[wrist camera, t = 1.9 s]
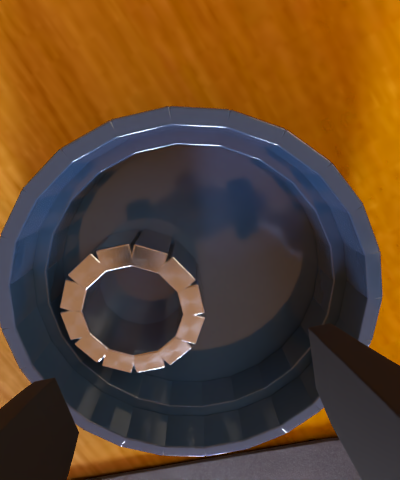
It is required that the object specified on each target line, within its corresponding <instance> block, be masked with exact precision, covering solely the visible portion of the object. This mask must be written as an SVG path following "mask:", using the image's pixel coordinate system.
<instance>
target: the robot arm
mask: <svg viewBox="0 0 400 480" xmlns="http://www.w3.org/2000/svg"><path fill="white" fill-rule="evenodd" d="M308 331H309V339H310V346H311V354H312V362H313V370H314V377H315V385H316V389H317V392H318V394H319V396H320V399H321V401H322V404H323V406H324V408H325V411H326V413H327V415H328V418H329V420H330V422H331V424H332V427H333V428H334V430H335V432H336V434H337V436H338V438H339V439H340V441H341V443H342V445H343V447H344V449H345V450H346V452H347V454H348V456H349V458H350V459H351V461H352V463H353V465H354V467H355V468H356V470H357V472H358V474H359V476H360V477H361V479H362V480H400V366H399V365H397V364H396V363H394V362H392V361H391V360H389V359H387V358H386V357H384V356H382V355H381V354H379V353H377V352H376V351H374V350H372V349H371V348H369V347H368V346H366V345H364V344H363V343H361V342H360V341H358V340H357V339H355V338H353V337H352V336H350V335H349V334H347V333H345V332H344V331H342V330H341V329H339V328H338V327H336V326H334V325H333V324H331V323H329V324H324V325H319V326H314V327H309V328H308ZM78 434H79V432H78V429H77V427H76V425H75V422H74V420H73V418H72V415H71V413H70V411H69V408H68V406H67V404H66V401H65V399H64V397H63V395H62V392H61V390H60V388H59V385H58V383H57V381H56V378H50V379H45V380H40V381H35V382H33V383H32V384H31V385H29V386H28V387H26V388H25V389H24V390H23V391H21V392H20V393H19V394H18V395H16V396H15V397H14V398H13V399H11V400H10V401H9V402H8V403H7V404H5V405H4V406H3V407H2V408H1V409H0V480H66V479H67V476H68V473H69V470H70V466H71V462H72V459H73V455H74V451H75V447H76V442H77V438H78Z"/></svg>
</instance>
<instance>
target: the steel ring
mask: <svg viewBox="0 0 400 480" xmlns="http://www.w3.org/2000/svg"><path fill="white" fill-rule="evenodd" d="M171 241H172V237H171V236H168V235H165V234H162V233H158V232H155V231H152V230H148V229H144V230H143V232H142V233H141V231H140V229H134V230H129V231H124V232H120V233H115V234H112V235H111V236H110V237H106V238H105V239H104V240H103V241H102V242H101V243H100V244H99V245H98V246H97V247H96V248H95V249H93V250H92V251H91V252H90V253H89V254H88V255H87V256H86V257H85V258H84V259H83V260H82V261H81V262H80V263H79V264H78V265H77V266H76V267H75V268H74V269H73V270H72V271H71V272H70V273H69V274H68V277H67V278H66V279H65V282H64V287H63V292H62V297H61V301H60V306H59V307H60V308H61V309H63V310H62V311H61V312H60V315H61V318H62V320H63V323H64V325H65V328H66V330H67V333H68V336H69V338H70V340H74V339H76V341H75V343H74V345H75V346H76V347H78V348H79V349H80V350H81V351H82V352H84V353H85V354H86V355H87V356H88V357H90V358H91V359H92V360H93V361H95V362H96V363H98V362H99V361H100V360H101V359H103V361H102V366H104V367H108V368H112V369H116V370H120V371H124V372H128V373H131V372H132V370H133V367H135V370H136V372H137V373H140V372H145V371H150V370H156V369H161V368H165V367H166V362H167V363H168V364H169V365H172V364H173V363H174V362H175V361H177V360H178V359H179V358H180V357H182V356H183V355H184V354H185V353H187V352H188V351H189V350H190V349H192V344H196V342H197V339H198V336H199V334H200V331H201V328H202V325H203V323H204V320H205V299H204V286H203V282H202V277H201V273H200V269H199V265H198V263H196V259H195V258H194V257H193V256H192V255H191V253H190V252H189V251H188V250H187V249H186V248H185V247H184V246H183V245H182V244H181V243H180V242H179V241H178V240H175V241H174V242H173V243H171ZM130 266H133V267H137V268H140V269H144V270H147V271H151V272H154V273H158V274H159V275H160V276H161V277H162V278H163V279H164V280H165V281H166V282H167V283H168V284H169V285H170V286H171V287H173V288H174V289H175V290H176V291H177V294H178V298H179V302H180V305H179V308H178V309H177V310H176V311H174V312H173V313H172V314H171V315H170V316H168V317H167V318H166V319H165V320H164V321H160V322H155V323H150V324H145V325H142V324H138V323H134V322H130V321H127V320H123V319H121V318H120V317H119V316H118V315H117V314H115V313H114V312H113V311H112V310H111V309H110V308H109V307H108V306H106V303H105V300H104V297H103V294H102V291H101V288H100V284H101V280H102V276H103V274H104V273H105V272H106V271H111V270H115V269H120V268H125V267H130Z"/></svg>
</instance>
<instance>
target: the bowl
mask: <svg viewBox="0 0 400 480" xmlns="http://www.w3.org/2000/svg"><path fill="white" fill-rule="evenodd" d="M134 229H140V231H141V233H142V232H143V230H144V229H148V230H152V231H155V232H158V233H162V234H165V235H168V236H171V237H172V241H171V243H173V242H174V241H175V240H178V241H179V242H180V243H181V244H182V245H183V246H184V247H185V248H186V249H187V250H188V251H189V252H190V253H191V255H192V256H193V257H194V258H195V259H196V263H198V265H199V269H200V273H201V277H202V282H203V286H204V299H205V320H204V323H203V325H202V328H201V331H200V334H199V336H198V339H197V342H196V344H192V349H190V350H189V351H188V352H187V353H185V354H184V355H183V356H182V357H180V358H179V359H178V360H177V361H175V362H174V363H173V364H172V365H169V364H168V363H167V362H166V367H165V368H161V369H156V370H150V371H145V372H140V373H137V372H136V370H135V367H133V370H132V372H131V373H128V372H124V371H120V370H116V369H112V368H108V367H104V366H102V361H103V359H101V360H100V361H99V362H98V363H96V362H95V361H93V360H92V359H91V358H90V357H88V356H87V355H86V354H85V353H84V352H82V351H81V350H80V349H79V348H78V347H76V346H75V345H74V343H75V341H76V339H74V340H70V338H69V336H68V333H67V330H66V328H65V325H64V323H63V320H62V318H61V315H60V312H61V311H62V310H63V309H61V308H60V307H59V306H60V301H61V297H62V292H63V287H64V282H65V279H66V278H67V277H68V274H69V273H70V272H71V271H72V270H73V269H74V268H75V267H76V266H77V265H78V264H79V263H80V262H81V261H82V260H83V259H84V258H85V257H86V256H87V255H88V254H89V253H90V252H91V251H92V250H93V249H95V248H96V247H97V246H98V245H99V244H100V243H101V242H102V241H103V240H104V239H105V238H106V237H110V236H111V235H112V234H115V233H120V232H124V231H129V230H134ZM100 288H101V291H102V294H103V297H104V300H105V303H106V306H108V307H109V308H110V309H111V310H112V311H113V312H114V313H115V314H117V315H118V316H119V317H120V318H121V319H123V320H127V321H130V322H134V323H138V324H142V325H145V324H150V323H155V322H160V321H164V320H165V319H166V318H167V317H168V316H170V315H171V314H172V313H173V312H174V311H176V310H177V309H178V308H179V305H180V302H179V298H178V294H177V291H176V290H175V289H174V288H173V287H171V286H170V285H169V284H168V283H167V282H166V281H165V280H164V279H163V278H162V277H161V276H160V275H159V274H158V273H154V272H151V271H147V270H144V269H140V268H137V267H133V266H130V267H125V268H120V269H115V270H111V271H106V272H105V273H104V274H103V276H102V280H101V284H100ZM381 301H382V278H381V256H380V251H379V247H378V244H377V241H376V239H375V236H374V233H373V230H372V227H371V225H370V222H369V219H368V216H367V214H366V211H365V208H364V206H363V203H362V202H361V200H360V199H359V198H358V196H357V195H356V194H355V192H354V191H353V190H352V188H351V187H350V186H349V184H348V183H347V182H346V180H345V179H344V178H343V176H342V175H341V174H340V172H339V171H338V170H337V168H336V167H335V166H334V164H333V163H331V161H330V160H328V159H327V158H325V157H324V156H323V155H321V154H320V153H319V152H317V151H316V150H314V149H313V148H312V147H310V146H309V145H308V144H306V143H305V142H303V141H302V140H301V139H299V138H298V137H297V136H295V135H294V134H292V133H291V132H290V131H288V130H285V129H284V128H282V127H279V126H276V125H274V124H271V123H268V122H265V121H262V120H259V119H257V118H254V117H251V116H248V115H245V114H242V113H240V112H237V111H234V110H229V109H218V108H200V107H182V106H170V107H169V106H166V107H162V108H158V109H153V110H149V111H145V112H141V113H136V114H132V115H128V116H124V117H119V118H115V119H112V120H111V121H107V122H106V123H104V124H102V125H100V126H99V127H97V128H95V129H93V130H92V131H90V132H88V133H86V134H85V135H83V136H81V137H79V138H78V139H76V140H74V141H72V142H71V143H69V144H67V145H65V146H64V147H62V148H61V149H59V150H58V151H57V152H56V153H55V154H54V155H53V156H52V158H51V159H50V160H49V161H48V162H47V163H46V164H45V165H44V166H43V167H42V168H41V169H40V170H39V171H38V173H37V174H36V175H35V176H34V177H33V178H32V179H31V180H30V181H29V182H28V183H27V184H26V185H25V186H24V188H23V189H22V191H21V193H20V195H19V197H18V199H17V201H16V203H15V206H14V208H13V210H12V212H11V214H10V216H9V218H8V220H7V222H6V224H5V227H4V229H3V231H2V233H1V236H0V326H1V328H2V332H3V334H4V336H5V338H6V340H7V342H8V345H9V347H10V349H11V351H12V353H13V355H14V358H15V360H16V362H17V364H18V366H19V368H20V369H21V371H22V372H23V373H24V375H25V376H26V377H27V378H28V380H29V381H30V382H31V383H33V382H35V381H40V380H45V379H50V378H56V381H57V383H58V385H59V388H60V390H61V392H62V395H63V397H64V399H65V401H66V404H67V406H68V408H69V411H70V413H71V415H72V418H73V420H74V422H75V424H76V425H78V426H79V427H81V428H83V430H86V431H88V432H90V433H92V434H94V435H97V436H99V437H101V438H103V439H105V440H108V441H110V442H112V443H114V444H116V445H119V446H122V447H126V448H130V449H135V450H139V451H144V452H148V453H153V454H157V455H164V456H196V457H204V456H212V455H218V454H223V453H229V452H234V451H240V450H246V448H247V449H249V448H251V447H254V446H256V445H259V444H261V443H264V442H266V441H269V440H271V439H274V438H277V437H279V436H282V435H284V434H286V433H288V432H289V431H291V430H292V429H294V428H295V427H297V426H298V425H300V424H301V423H303V422H304V421H306V420H307V419H309V418H310V417H312V416H313V415H315V414H316V413H318V412H319V411H320V410H321V409H323V408H324V406H323V404H322V401H321V399H320V396H319V394H318V392H317V389H316V385H315V377H314V370H313V362H312V354H311V346H310V339H309V331H308V328H309V327H314V326H319V325H324V324H329V323H331V324H333V325H334V326H336V327H338V328H339V329H341V330H342V331H344V332H345V333H347V334H349V335H350V336H352V337H353V338H355V339H357V340H358V341H360V342H361V343H363V344H364V345H366V346H368V347H369V345H370V343H371V340H372V338H373V334H374V330H375V326H376V321H377V317H378V313H379V309H380V305H381Z"/></svg>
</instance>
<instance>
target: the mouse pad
mask: <svg viewBox="0 0 400 480" xmlns="http://www.w3.org/2000/svg"><path fill="white" fill-rule="evenodd" d="M84 480H362V479H361V477H360V476H359V474H358V472H357V470H356V468H355V467H354V465H353V463H352V461H351V459H350V458H349V456H348V454H347V452H346V450H345V449H344V447H343V445H342V443H341V441H340V439H339V438H327V439H321V440H315V441H309V442H303V443H297V444H291V445H285V446H279V447H273V448H267V449H261V450H255V451H249V452H243V453H238V454H232V455H226V456H220V457H214V458H208V459H202V460H196V461H190V462H184V463H178V464H172V465H166V466H161V467H155V468H149V469H143V470H137V471H131V472H125V473H119V474H114V475H108V476H102V477H96V478H90V479H84Z"/></svg>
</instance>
